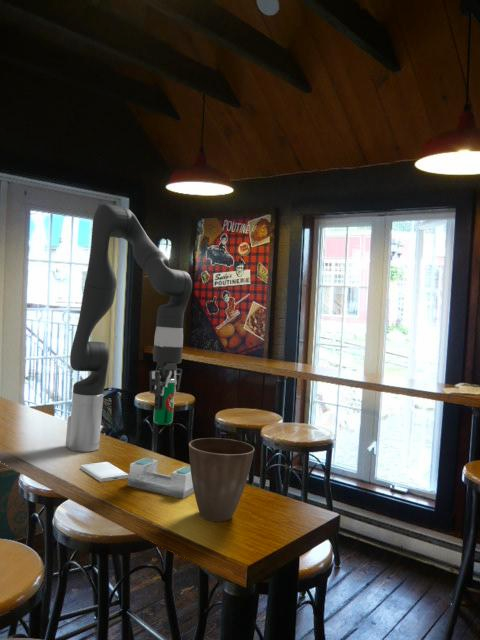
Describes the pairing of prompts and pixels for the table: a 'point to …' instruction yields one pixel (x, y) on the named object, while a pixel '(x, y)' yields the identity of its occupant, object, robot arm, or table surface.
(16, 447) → the table surface
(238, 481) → the plant pot
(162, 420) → the soda can
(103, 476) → the hard drive
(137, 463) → the grey u-shaped block
